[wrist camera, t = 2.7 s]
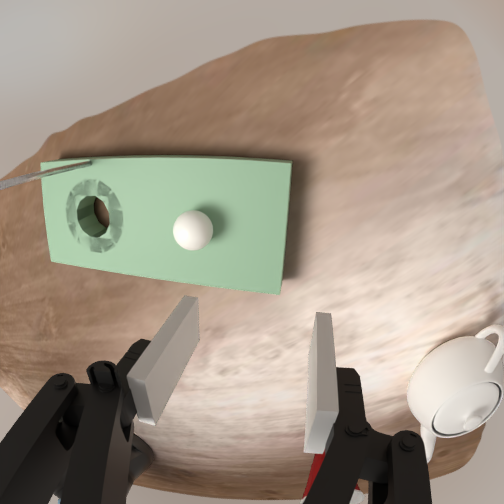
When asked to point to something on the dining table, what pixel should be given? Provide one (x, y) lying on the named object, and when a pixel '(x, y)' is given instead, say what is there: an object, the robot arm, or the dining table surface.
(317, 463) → the plastic cup
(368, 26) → the dining table surface
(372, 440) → the robot arm
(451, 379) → the teapot
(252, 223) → the putting board
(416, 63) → the dining table surface
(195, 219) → the ball
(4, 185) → the flag
